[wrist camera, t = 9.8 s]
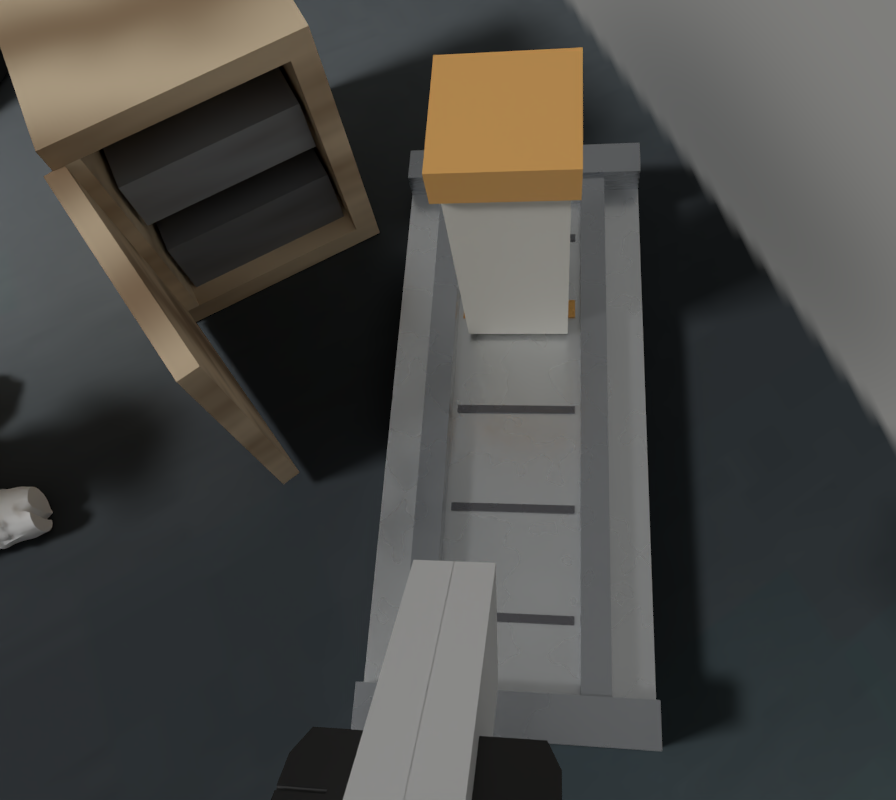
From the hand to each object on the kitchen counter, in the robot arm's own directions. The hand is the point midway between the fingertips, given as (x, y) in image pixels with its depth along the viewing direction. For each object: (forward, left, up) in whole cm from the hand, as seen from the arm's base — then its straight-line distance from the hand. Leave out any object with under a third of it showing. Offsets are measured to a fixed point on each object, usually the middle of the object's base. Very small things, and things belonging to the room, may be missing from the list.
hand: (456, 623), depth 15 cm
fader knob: (-13, +8, -14) cm, 21 cm away
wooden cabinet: (-21, -1, -16) cm, 26 cm away
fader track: (-9, +5, -16) cm, 19 cm away
